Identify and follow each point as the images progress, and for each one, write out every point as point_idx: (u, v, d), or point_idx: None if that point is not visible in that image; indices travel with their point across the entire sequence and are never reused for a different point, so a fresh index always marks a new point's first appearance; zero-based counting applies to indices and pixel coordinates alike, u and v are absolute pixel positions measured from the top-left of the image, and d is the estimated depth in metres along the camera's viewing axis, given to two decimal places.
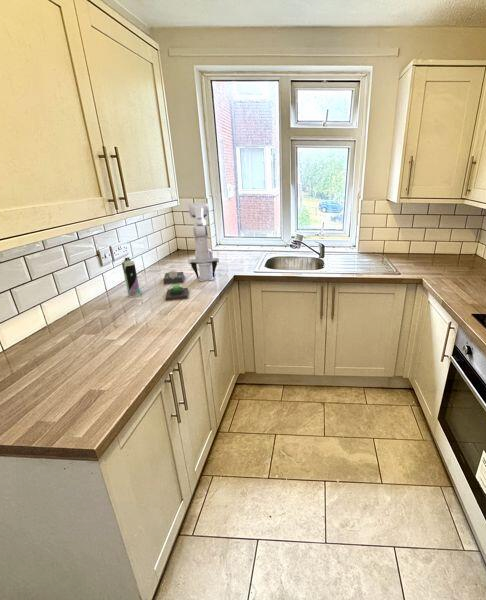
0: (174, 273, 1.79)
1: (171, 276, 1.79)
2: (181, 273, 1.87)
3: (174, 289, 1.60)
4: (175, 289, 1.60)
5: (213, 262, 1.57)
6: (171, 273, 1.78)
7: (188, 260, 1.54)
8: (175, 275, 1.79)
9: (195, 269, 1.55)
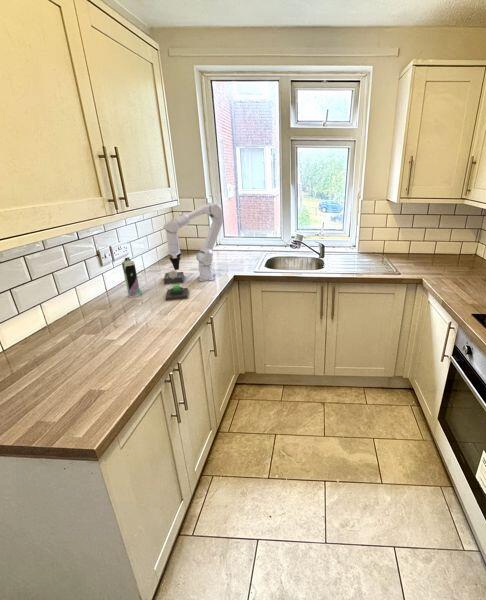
0: (174, 273, 1.79)
1: (171, 276, 1.79)
2: (181, 273, 1.87)
3: (174, 289, 1.60)
4: (175, 289, 1.60)
5: (173, 256, 1.68)
6: (171, 273, 1.78)
7: None
8: (175, 275, 1.79)
9: None
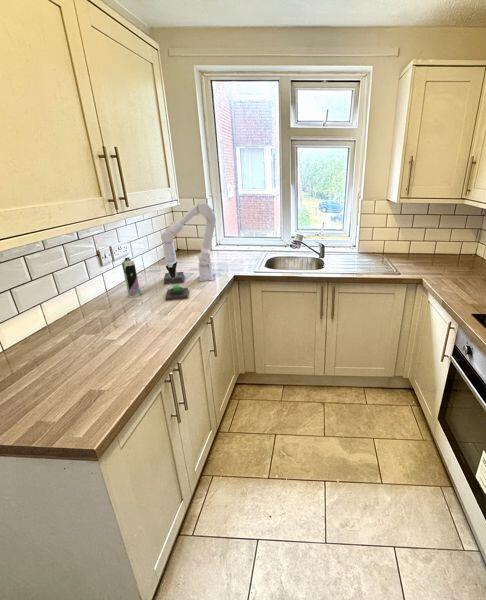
0: None
1: None
2: (181, 273, 1.87)
3: (174, 289, 1.60)
4: (175, 289, 1.60)
5: None
6: None
7: None
8: (175, 275, 1.79)
9: None
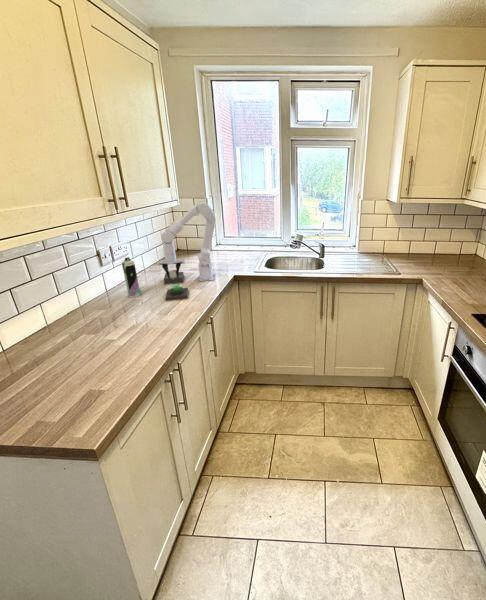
0: None
1: (176, 275, 1.80)
2: (181, 273, 1.87)
3: (174, 289, 1.60)
4: (175, 289, 1.60)
5: (179, 263, 1.78)
6: (176, 272, 1.80)
7: (157, 261, 1.75)
8: None
9: (166, 269, 1.76)
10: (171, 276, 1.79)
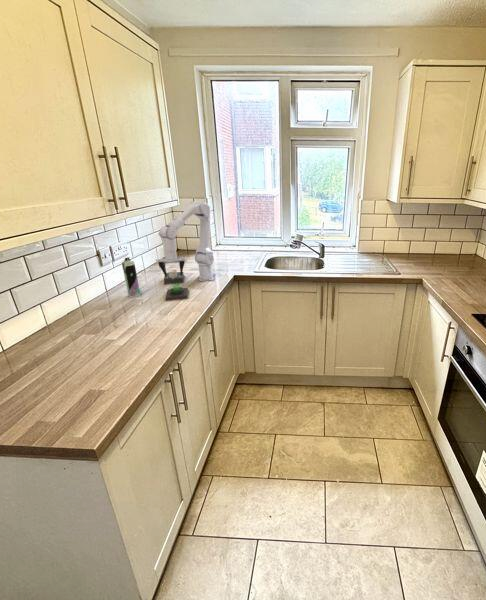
0: None
1: (176, 275, 1.80)
2: None
3: (174, 289, 1.60)
4: (175, 289, 1.60)
5: (181, 262, 1.63)
6: (176, 272, 1.80)
7: (156, 260, 1.60)
8: None
9: (163, 268, 1.61)
10: (171, 276, 1.79)
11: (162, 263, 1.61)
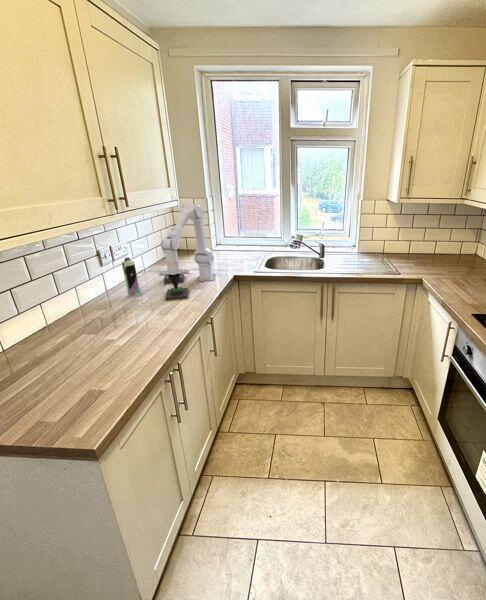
0: None
1: None
2: None
3: (174, 290, 1.60)
4: (175, 290, 1.60)
5: None
6: None
7: (158, 272, 1.55)
8: None
9: (172, 280, 1.57)
10: None
11: (172, 275, 1.57)
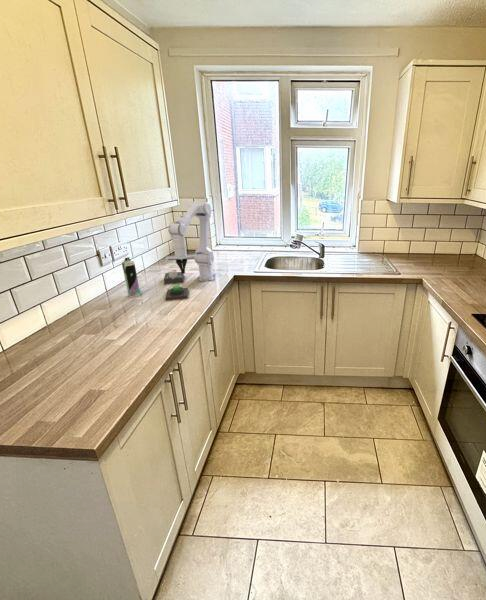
0: None
1: (176, 275, 1.80)
2: (181, 273, 1.87)
3: (174, 289, 1.60)
4: (175, 289, 1.60)
5: None
6: (176, 272, 1.80)
7: None
8: None
9: (180, 265, 1.60)
10: (171, 276, 1.79)
11: (179, 260, 1.60)
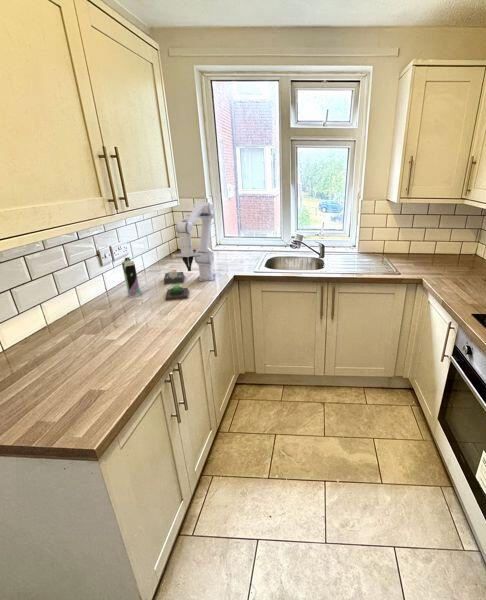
0: None
1: (176, 275, 1.80)
2: (181, 273, 1.87)
3: (174, 289, 1.60)
4: (175, 289, 1.60)
5: (196, 256, 1.65)
6: (176, 272, 1.80)
7: None
8: None
9: (186, 263, 1.64)
10: (171, 276, 1.79)
11: (185, 257, 1.64)
